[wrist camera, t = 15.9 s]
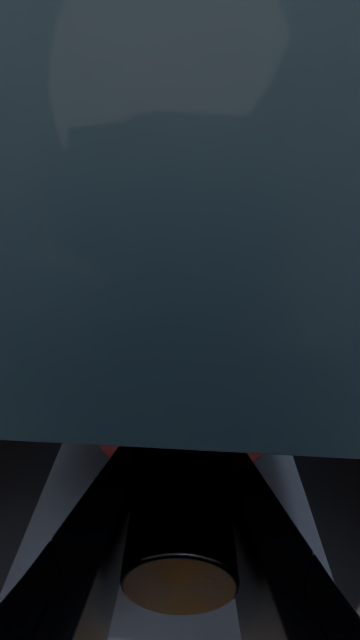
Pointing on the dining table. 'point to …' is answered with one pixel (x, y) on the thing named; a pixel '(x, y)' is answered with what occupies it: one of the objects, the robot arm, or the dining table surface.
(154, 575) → the lid
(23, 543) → the drawer
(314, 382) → the cabinet
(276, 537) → the robot arm
